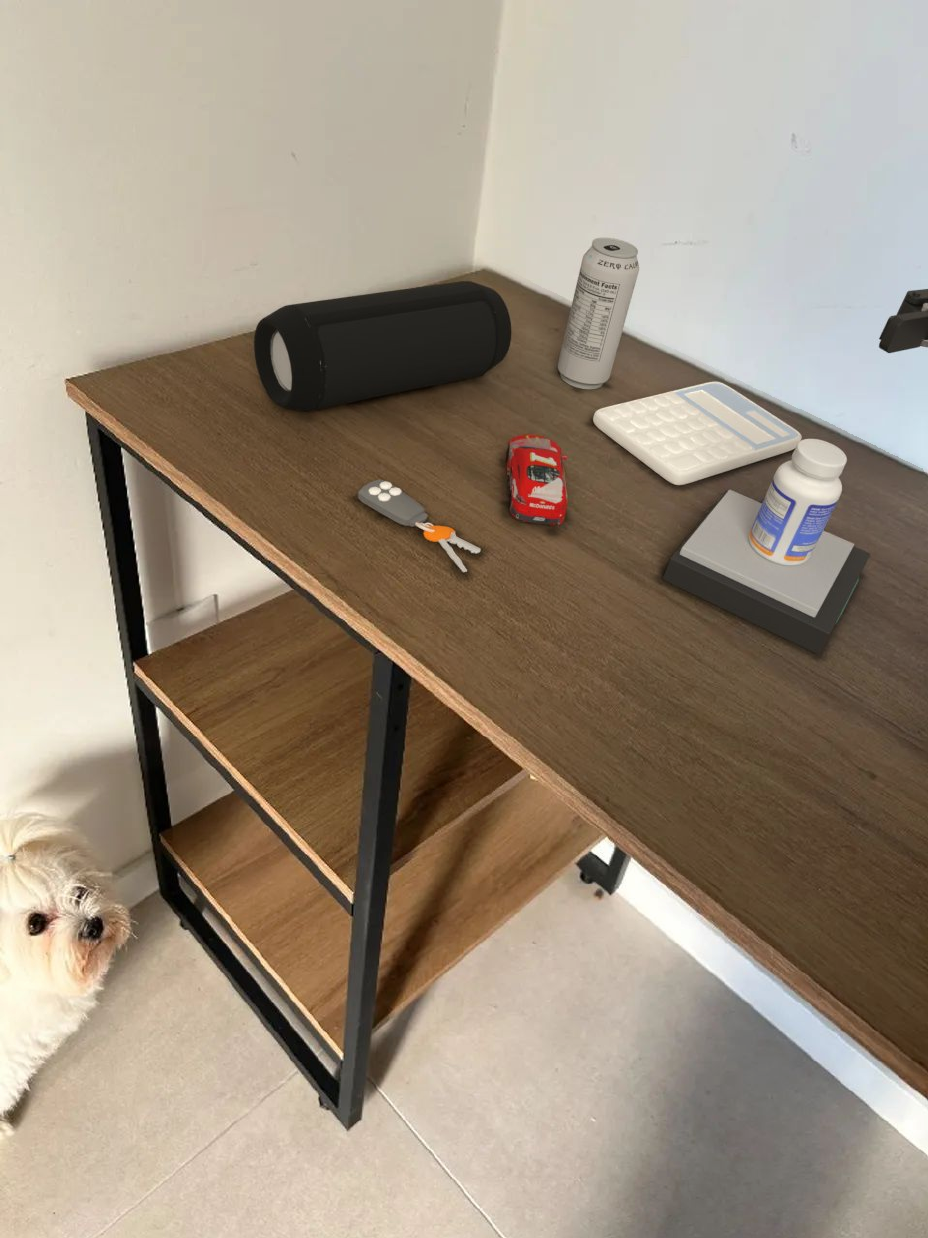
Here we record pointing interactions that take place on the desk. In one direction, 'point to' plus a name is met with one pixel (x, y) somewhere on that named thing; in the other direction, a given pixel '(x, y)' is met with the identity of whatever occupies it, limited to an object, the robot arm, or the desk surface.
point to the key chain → (411, 515)
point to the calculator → (696, 431)
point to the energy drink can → (598, 312)
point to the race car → (536, 480)
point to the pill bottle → (799, 503)
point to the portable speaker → (380, 343)
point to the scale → (766, 575)
